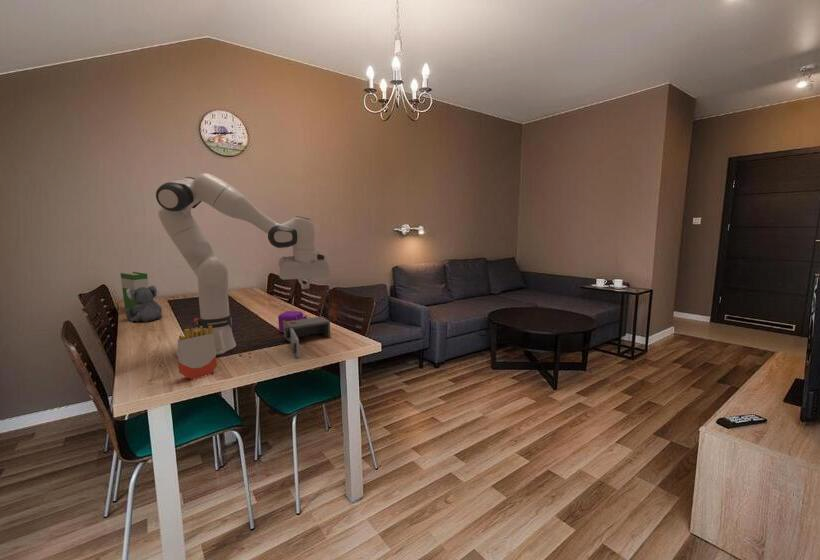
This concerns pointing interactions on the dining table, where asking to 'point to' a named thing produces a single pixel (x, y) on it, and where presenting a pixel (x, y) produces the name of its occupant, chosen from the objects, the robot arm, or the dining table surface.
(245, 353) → the dining table surface
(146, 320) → the koala plush
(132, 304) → the green and white box
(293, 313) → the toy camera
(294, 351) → the side door
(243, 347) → the dining table surface
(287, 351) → the dining table surface
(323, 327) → the camera housing
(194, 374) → the french fries container
